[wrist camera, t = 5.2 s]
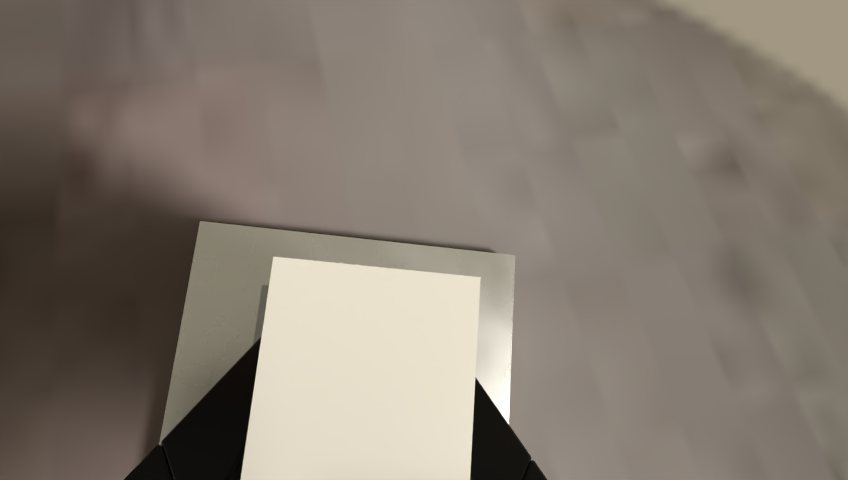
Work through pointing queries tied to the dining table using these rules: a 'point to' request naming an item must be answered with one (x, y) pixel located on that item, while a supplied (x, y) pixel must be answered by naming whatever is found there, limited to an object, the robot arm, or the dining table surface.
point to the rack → (255, 248)
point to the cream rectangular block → (364, 374)
